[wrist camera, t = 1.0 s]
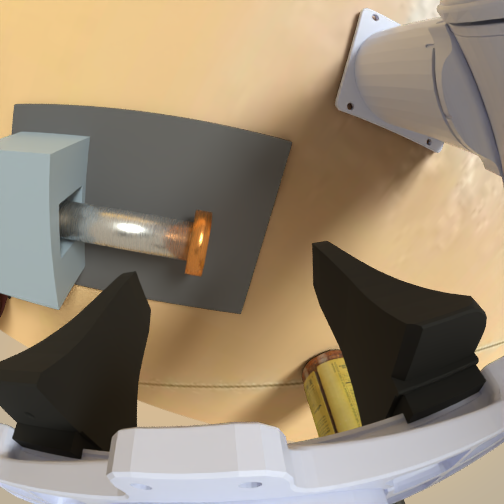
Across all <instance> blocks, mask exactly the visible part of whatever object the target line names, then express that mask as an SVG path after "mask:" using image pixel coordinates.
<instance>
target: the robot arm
mask: <svg viewBox="0 0 504 504" xmlns="http://www.w3.org/2000/svg"><path fill="white" fill-rule="evenodd" d="M437 12H438V13H439V15H440V16H441V17H438V18H432V19H427V20H423V21H418V22H413V23H409V24H405V25H400V24H398V23H397V22H395V21H393V20H391V19H389V18H387V17H385V16H383V15H381V14H379V13H377V12H375V11H373V10H371V9H369V8H365V9H363V10H361V12H360V15H359V19H358V23H357V26H356V30H355V34H354V37H353V41H352V45H351V48H350V52H349V56H348V59H347V63H346V66H345V70H344V73H343V77H342V80H341V83H340V87H339V90H338V94H337V97H336V100H335V106H336V108H337V109H338V110H340V111H342V112H345V113H348V114H350V115H353V116H356V117H358V118H361V119H363V120H366V121H368V122H371V123H373V124H376V125H378V126H380V127H383V128H385V129H387V130H390V131H392V132H394V133H396V134H398V135H401V136H403V137H405V138H407V139H409V140H411V141H413V142H415V143H418V144H420V145H422V146H424V147H426V148H428V149H430V150H431V151H433V152H436V153H439V152H440V151H441V150H442V147H443V144H444V143H447V144H450V145H453V146H455V147H458V148H460V149H463V150H466V151H468V152H471V153H473V154H475V155H478V156H479V157H480V158H481V160H482V162H483V164H484V167H485V169H487V170H489V171H491V172H493V173H495V174H497V175H499V176H501V177H502V179H503V186H504V0H440V4H439V5H438V6H437ZM372 15H373V16H375V17H376V21H375V20H373V18H372ZM348 103H351V104H352V108H351V109H350V110H349V109H348V108H347V105H348ZM428 139H429V143H428V144H427V140H428ZM312 250H313V286H314V289H315V292H316V295H317V298H318V301H319V304H320V307H321V309H322V311H323V313H324V315H325V317H326V319H327V322H328V324H329V326H330V328H331V330H332V332H333V334H334V336H335V338H336V340H337V343H338V345H339V347H340V350H341V352H342V355H343V358H344V361H345V364H346V367H347V370H348V374H349V377H350V380H351V384H352V387H353V391H354V395H355V399H356V403H357V407H358V411H359V415H360V419H361V424H362V427H358V428H355V429H351V430H347V431H344V432H340V433H336V434H332V435H328V436H323V437H319V438H314V439H310V440H305V441H300V442H295V443H289V444H287V441H286V436H285V435H284V434H283V433H282V432H281V431H280V429H279V428H277V427H275V426H272V425H268V424H264V423H260V422H230V423H220V424H209V425H195V426H175V427H137V394H138V381H139V374H140V369H141V364H142V360H143V355H144V351H145V346H146V342H147V337H148V333H149V326H150V313H151V309H150V306H149V304H148V302H147V299H146V296H145V294H144V291H143V289H142V286H141V284H140V281H139V278H138V276H137V273H136V271H133V272H127V273H122V274H121V275H120V276H118V277H117V278H116V279H115V280H114V281H113V282H112V283H111V284H110V285H109V286H108V287H107V288H106V289H104V290H103V291H102V292H101V293H100V294H99V295H98V296H97V297H96V298H95V299H94V300H93V301H92V302H91V303H90V304H89V305H88V306H87V307H85V308H84V309H83V310H82V311H81V312H80V313H79V314H78V315H77V316H76V317H74V318H73V319H72V320H71V321H70V322H68V323H67V324H66V325H64V326H63V327H62V328H60V329H59V330H58V331H56V332H55V333H53V334H52V335H50V336H49V337H47V338H46V339H44V340H43V341H41V342H39V343H38V344H36V345H34V346H32V347H31V348H29V349H27V350H25V351H23V352H21V353H19V354H17V355H14V356H12V357H10V358H8V359H6V360H3V361H1V362H0V406H1V407H2V408H3V409H4V410H5V411H6V412H7V413H8V414H9V415H10V416H11V417H12V418H13V419H14V420H15V421H16V422H17V425H16V428H15V429H14V428H13V427H11V426H9V425H6V424H2V423H0V487H1V488H3V489H4V490H6V491H8V492H9V493H11V494H13V495H14V496H16V497H18V498H20V499H23V500H25V501H28V502H31V503H33V504H393V503H396V502H398V501H400V500H403V499H405V498H407V497H410V496H411V495H414V494H416V493H418V492H420V491H422V490H424V489H426V488H428V487H430V486H432V485H434V484H436V483H438V482H440V481H442V480H444V479H446V478H447V477H449V476H451V475H453V474H454V473H456V472H458V471H460V470H461V469H463V468H465V467H466V466H468V465H470V464H471V463H473V462H474V461H476V460H477V459H479V458H481V457H482V456H484V455H485V454H487V453H488V452H490V451H491V450H493V449H494V448H496V447H497V446H499V445H500V444H502V443H503V442H504V356H502V357H501V358H499V359H497V360H495V361H493V362H491V363H490V364H488V365H486V366H485V367H484V368H483V369H482V370H481V371H480V370H479V369H478V367H477V366H476V364H477V363H478V362H479V360H478V357H477V356H476V355H475V353H474V352H475V350H476V348H477V346H478V343H479V341H480V339H481V337H482V335H483V333H484V330H485V327H486V319H487V317H486V314H485V312H484V311H483V309H482V308H481V307H480V306H479V305H478V304H477V303H476V301H475V300H474V299H473V298H472V297H471V296H466V295H458V294H450V293H444V292H440V291H435V290H430V289H427V288H423V287H419V286H416V285H413V284H410V283H407V282H404V281H401V280H398V279H396V278H394V277H391V276H389V275H387V274H384V273H382V272H380V271H378V270H376V269H374V268H372V267H370V266H368V265H367V264H365V263H363V262H361V261H359V260H358V259H356V258H354V257H353V256H351V255H349V254H348V253H346V252H345V251H343V250H341V249H340V248H338V247H337V246H335V245H333V244H332V243H330V242H328V241H323V242H317V243H312Z"/></svg>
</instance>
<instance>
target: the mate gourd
mask: <svg viewBox="0 0 504 504" xmlns="http://www.w3.org/2000/svg"><path fill="white" fill-rule="evenodd" d="M7 297H8V298H9V299H10V298H11V296H9V295H5V294H2V293H0V317H1V315H2V313H3V310H4V307H5V303H6V300H7Z"/></svg>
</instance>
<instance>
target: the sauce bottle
mask: <svg viewBox="0 0 504 504" xmlns="http://www.w3.org/2000/svg"><path fill="white" fill-rule="evenodd" d="M302 380H303V382H304V390H305V393H306V397H307V400H308V403H309V406H310V409H311V413H312V416H313V419H314V422H315V426H316V429H317V432H318V435H319V437H323V436H328V435H332V434H336V433H340V432H344V431H347V430H351V429H355V428H358V427H362V424H361V419H360V415H359V411H358V407H357V403H356V399H355V395H354V391H353V387H352V384H351V380H350V377H349V374H348V370H347V367H346V364H345V361H344V358H343V355H342V352H341V350H329V351H327V352H325V353H322V354H320V355H318V356H316V357H314V358H313V359H311V360H310V361H309V362H308V363H307V364H306V366H305V367H304V370H303V372H302ZM393 504H405V502H404V499H403V500H400V501H398V502H396V503H393Z"/></svg>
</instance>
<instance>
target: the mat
mask: <svg viewBox="0 0 504 504" xmlns="http://www.w3.org/2000/svg"><path fill="white" fill-rule="evenodd" d="M19 132H39V133H54V134H67V135H78V136H88V137H90V142H89V151H88V162H87V174H86V190H85V204H91V205H97V206H103V207H109V208H115V209H121V210H127V211H133V212H139V213H144V214H150V215H156V216H161V217H167V218H173V219H178V220H184V221H189V222H194V218H195V213H196V209H197V210H202V211H208V212H212V223H211V230H210V236H209V242H208V248H207V253H206V258H205V263H204V268H203V272H202V275H201V277H200V276H194V275H188V274H185V269H186V263H187V261H184V260H178V259H173V258H167V257H161V256H156V255H150V254H145V253H139V252H134V251H128V250H123V249H118V248H112V247H107V246H102V245H96V244H91V243H86V242H85V267H84V269H83V270H82V272H81V274H80V275H79V277H78V279H77V280H76V282H75V283H74V284H77V285H81V286H86V287H90V288H95V289H99V290H104V289H106V288H107V287H108V286H109V285H110V284H111V283H112V282H113V281H114V280H115V279H116V278H117V277H118V276H120V275H121V274H122V273H127V272H133V271H136V273H137V276H138V278H139V281H140V284H141V286H142V289H143V291H144V294H145V296H146V299H150V300H156V301H161V302H167V303H173V304H179V305H185V306H191V307H197V308H203V309H210V310H216V311H223V312H230V313H237V314H241V312H242V308H243V305H244V302H245V299H246V295H247V292H248V289H249V286H250V282H251V279H252V276H253V272H254V269H255V266H256V262H257V259H258V256H259V253H260V249H261V246H262V243H263V239H264V236H265V233H266V229H267V226H268V223H269V219H270V216H271V213H272V209H273V206H274V203H275V199H276V196H277V193H278V189H279V186H280V183H281V179H282V176H283V172H284V169H285V166H286V162H287V159H288V156H289V152H290V149H291V145H292V142H291V141H288V140H284V139H280V138H276V137H273V136H269V135H265V134H261V133H256V132H252V131H248V130H244V129H239V128H235V127H230V126H225V125H220V124H216V123H210V122H205V121H200V120H194V119H189V118H183V117H177V116H171V115H164V114H157V113H150V112H143V111H135V110H126V109H116V108H106V107H94V106H79V105H59V104H15V105H14V113H13V124H12V135H13V134H16V133H19Z"/></svg>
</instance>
